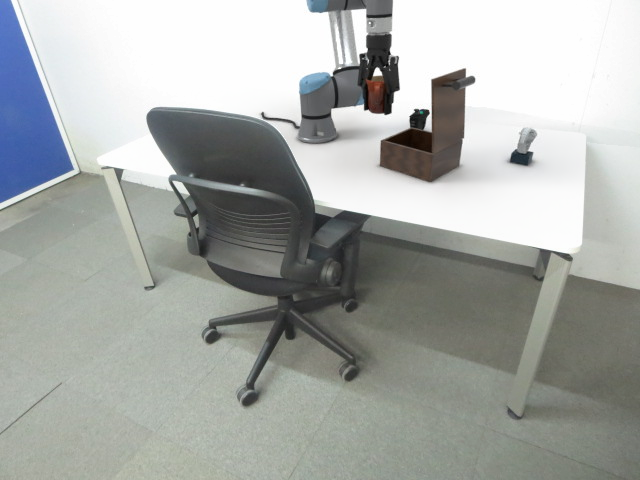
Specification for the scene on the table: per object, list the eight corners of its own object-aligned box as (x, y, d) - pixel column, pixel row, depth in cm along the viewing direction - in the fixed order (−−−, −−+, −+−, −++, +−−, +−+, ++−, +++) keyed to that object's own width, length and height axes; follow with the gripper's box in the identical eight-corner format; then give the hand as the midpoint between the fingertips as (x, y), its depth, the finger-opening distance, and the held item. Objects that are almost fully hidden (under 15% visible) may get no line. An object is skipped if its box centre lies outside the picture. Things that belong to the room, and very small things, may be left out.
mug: (367, 107, 142) (367, 75, 136) (394, 108, 140) (395, 75, 134) (362, 118, 132) (362, 83, 127) (390, 118, 130) (391, 83, 125)
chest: (379, 166, 141) (380, 140, 136) (409, 151, 150) (411, 127, 146) (430, 182, 129) (432, 154, 124) (459, 165, 138) (462, 139, 133)
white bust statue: (533, 159, 140) (541, 126, 134) (525, 167, 134) (533, 133, 129) (515, 155, 143) (522, 123, 137) (507, 163, 138) (514, 130, 132)
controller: (406, 136, 163) (408, 110, 158) (419, 127, 172) (421, 102, 166) (416, 138, 161) (418, 112, 156) (429, 128, 170) (432, 103, 164)
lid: (431, 79, 115) (451, 79, 110) (463, 68, 124) (483, 67, 120) (431, 153, 124) (450, 155, 120) (462, 137, 134) (480, 139, 129)
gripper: (344, 33, 129) (346, 109, 141) (399, 36, 115) (395, 120, 128) (361, 30, 133) (361, 104, 145) (415, 33, 120) (410, 114, 132)
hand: (377, 111), depth 136 cm, fingers closed on mug, 8 cm apart
